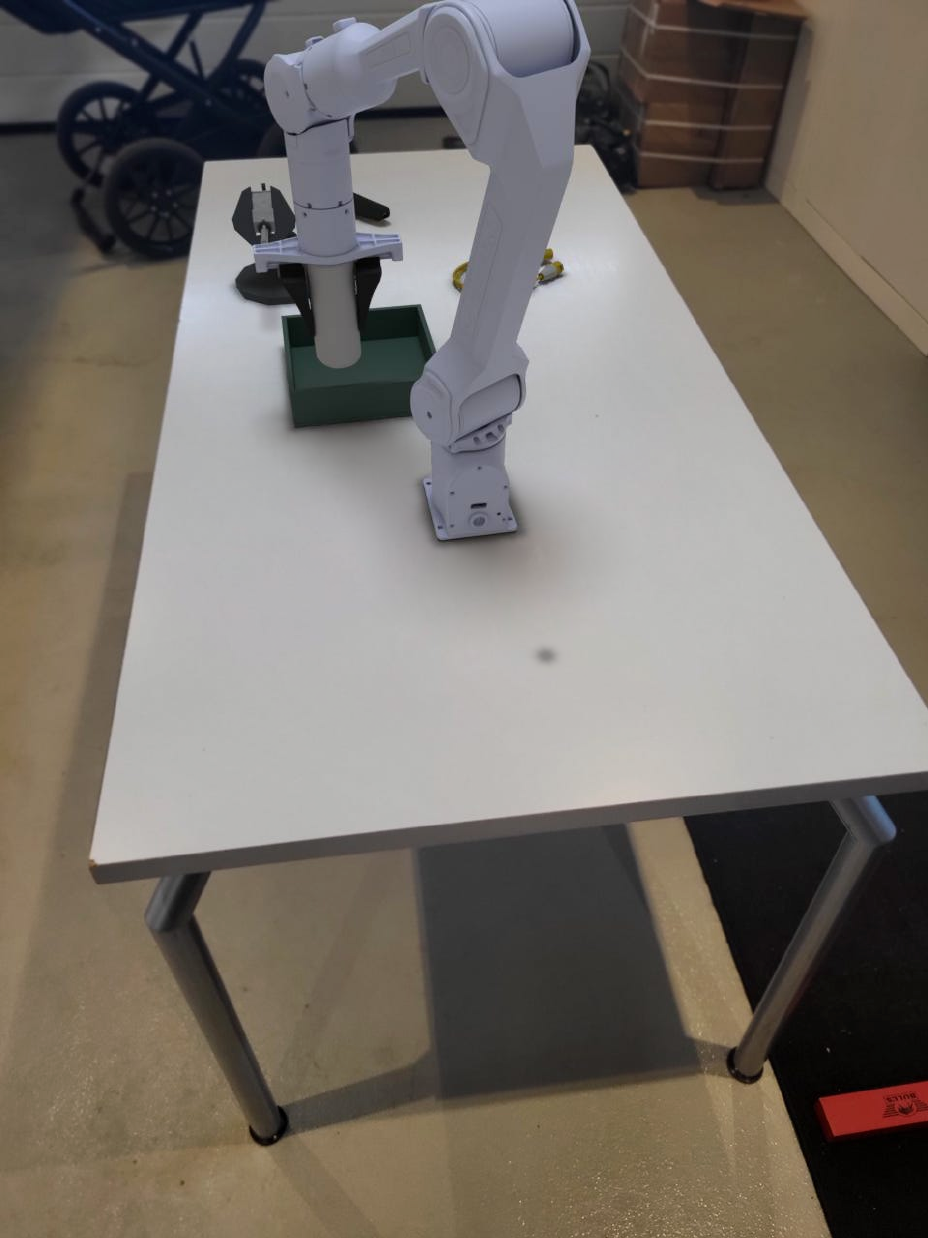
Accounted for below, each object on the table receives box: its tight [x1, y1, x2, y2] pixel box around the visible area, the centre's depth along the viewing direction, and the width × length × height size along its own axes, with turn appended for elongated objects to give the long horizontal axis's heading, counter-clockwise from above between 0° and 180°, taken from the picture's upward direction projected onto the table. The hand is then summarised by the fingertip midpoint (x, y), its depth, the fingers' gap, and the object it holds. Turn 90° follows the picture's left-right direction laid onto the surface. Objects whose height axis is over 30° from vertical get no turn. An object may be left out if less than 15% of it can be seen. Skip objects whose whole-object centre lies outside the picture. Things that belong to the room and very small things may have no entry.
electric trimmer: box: [353, 191, 391, 222], centre depth 138 cm, size 4×16×3 cm, turn 47°
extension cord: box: [452, 247, 565, 290], centre depth 123 cm, size 12×16×2 cm
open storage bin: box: [280, 303, 437, 428], centre depth 104 cm, size 17×17×4 cm
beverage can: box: [305, 260, 361, 368], centre depth 91 cm, size 5×5×12 cm
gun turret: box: [230, 182, 309, 306], centre depth 116 cm, size 13×20×13 cm, turn 9°
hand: (337, 329), depth 93 cm, fingers closed on beverage can, 5 cm apart
